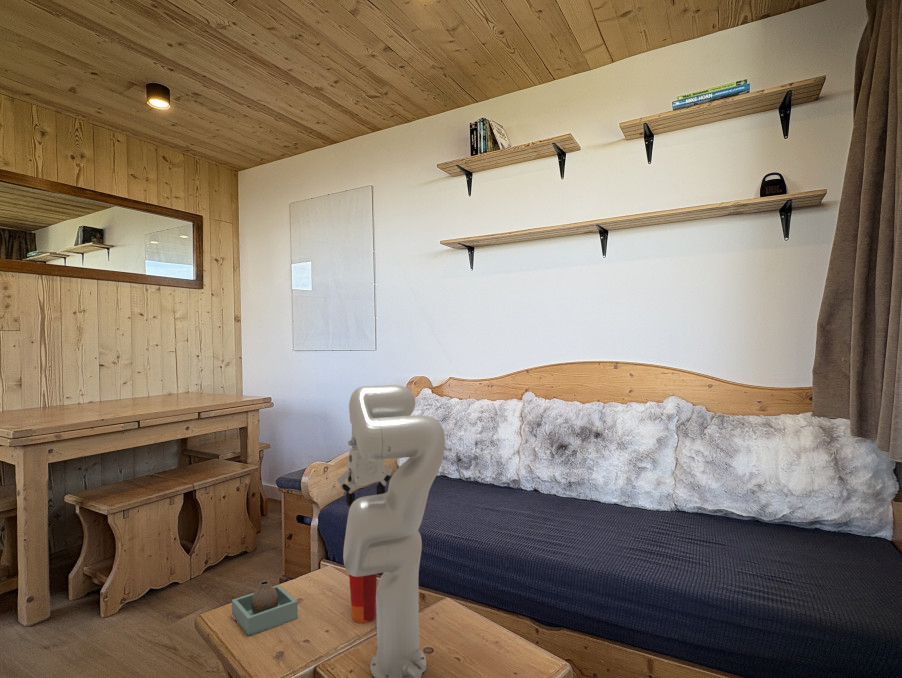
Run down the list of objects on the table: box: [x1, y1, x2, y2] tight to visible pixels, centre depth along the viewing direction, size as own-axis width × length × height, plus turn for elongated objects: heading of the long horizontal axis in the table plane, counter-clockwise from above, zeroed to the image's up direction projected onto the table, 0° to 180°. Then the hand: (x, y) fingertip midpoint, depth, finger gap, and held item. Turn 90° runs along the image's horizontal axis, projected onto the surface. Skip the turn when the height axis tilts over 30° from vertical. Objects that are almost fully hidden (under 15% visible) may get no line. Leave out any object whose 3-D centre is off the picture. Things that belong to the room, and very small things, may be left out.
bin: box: [231, 584, 299, 638], centre depth 137 cm, size 13×13×4 cm
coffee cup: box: [348, 573, 378, 624], centre depth 136 cm, size 8×8×15 cm
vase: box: [251, 580, 278, 614], centre depth 137 cm, size 7×7×9 cm
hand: (366, 502), depth 144 cm, fingers open, 9 cm apart
